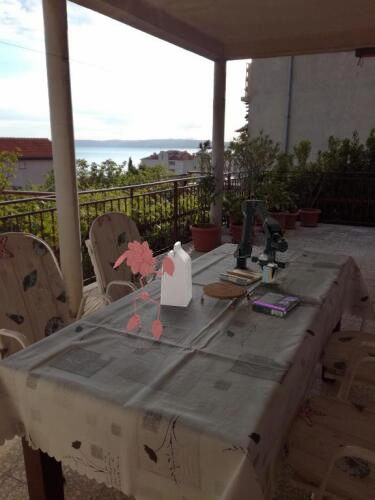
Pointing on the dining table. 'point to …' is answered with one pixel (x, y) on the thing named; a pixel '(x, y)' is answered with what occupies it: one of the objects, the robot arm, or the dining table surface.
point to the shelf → (240, 276)
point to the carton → (267, 273)
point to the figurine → (142, 263)
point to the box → (274, 303)
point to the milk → (177, 279)
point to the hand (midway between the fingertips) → (268, 277)
